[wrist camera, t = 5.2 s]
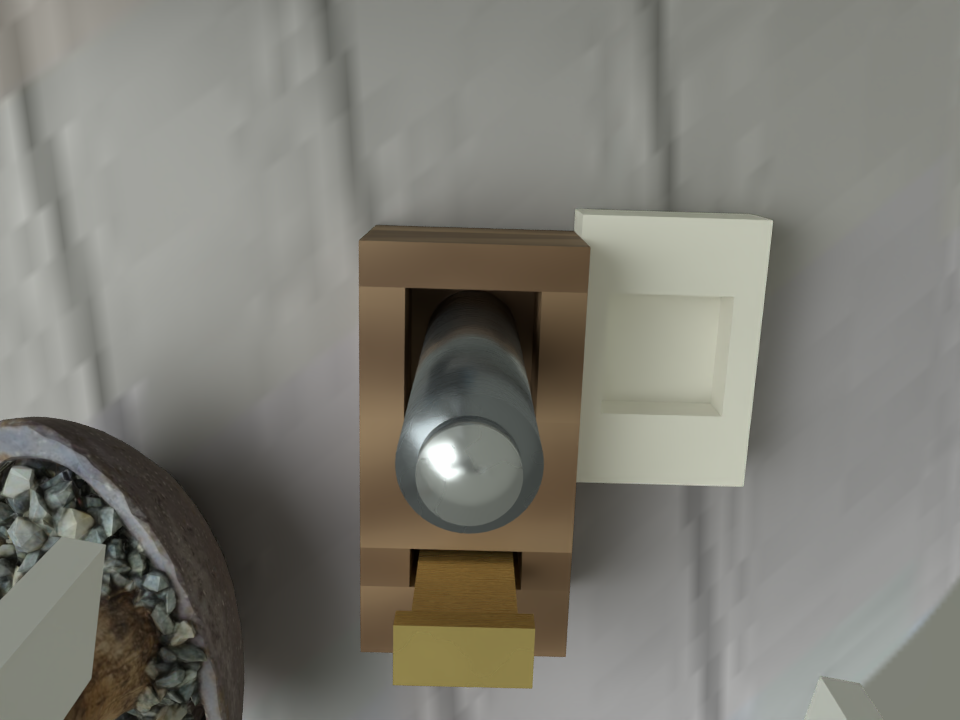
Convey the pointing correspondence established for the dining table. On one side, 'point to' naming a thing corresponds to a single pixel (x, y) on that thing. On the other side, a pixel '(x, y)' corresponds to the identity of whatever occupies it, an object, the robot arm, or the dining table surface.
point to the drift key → (464, 624)
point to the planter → (127, 570)
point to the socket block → (388, 384)
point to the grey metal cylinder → (470, 420)
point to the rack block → (670, 345)
